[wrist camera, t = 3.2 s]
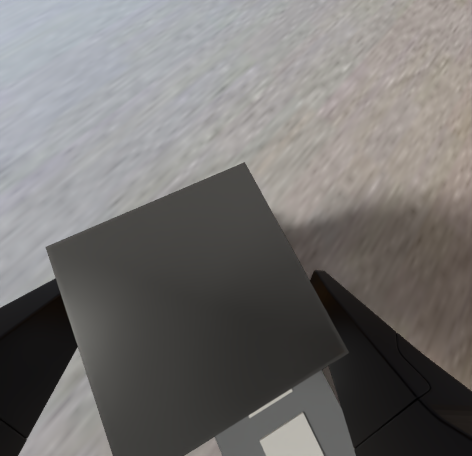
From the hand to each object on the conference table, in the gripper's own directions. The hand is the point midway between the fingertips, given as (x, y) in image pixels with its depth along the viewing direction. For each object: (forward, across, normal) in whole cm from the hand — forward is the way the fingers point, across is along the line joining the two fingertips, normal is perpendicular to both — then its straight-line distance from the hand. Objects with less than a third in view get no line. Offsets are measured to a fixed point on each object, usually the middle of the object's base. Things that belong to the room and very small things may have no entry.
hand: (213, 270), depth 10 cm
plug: (+5, 0, +6) cm, 7 cm away
